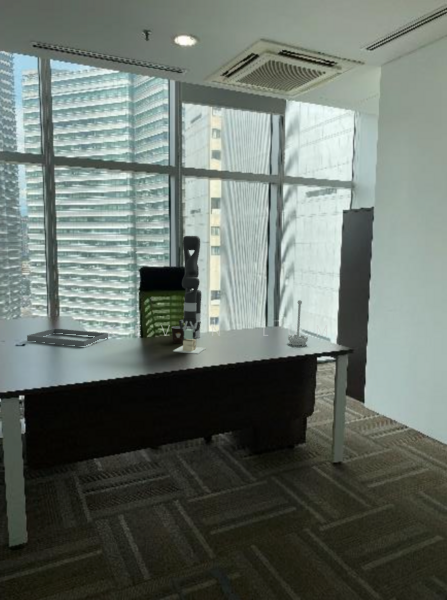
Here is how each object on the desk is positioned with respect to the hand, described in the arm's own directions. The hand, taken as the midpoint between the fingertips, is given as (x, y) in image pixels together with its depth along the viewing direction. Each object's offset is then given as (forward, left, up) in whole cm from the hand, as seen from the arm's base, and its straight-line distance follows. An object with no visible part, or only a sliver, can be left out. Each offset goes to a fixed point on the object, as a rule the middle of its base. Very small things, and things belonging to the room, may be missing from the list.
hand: (189, 337), depth 273 cm
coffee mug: (-19, -14, -9) cm, 25 cm away
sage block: (0, 0, 0) cm, 0 cm away
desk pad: (-1, 0, -8) cm, 8 cm away
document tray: (+6, -82, -8) cm, 83 cm away
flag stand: (-47, +60, -9) cm, 77 cm away
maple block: (0, 0, -8) cm, 8 cm away
